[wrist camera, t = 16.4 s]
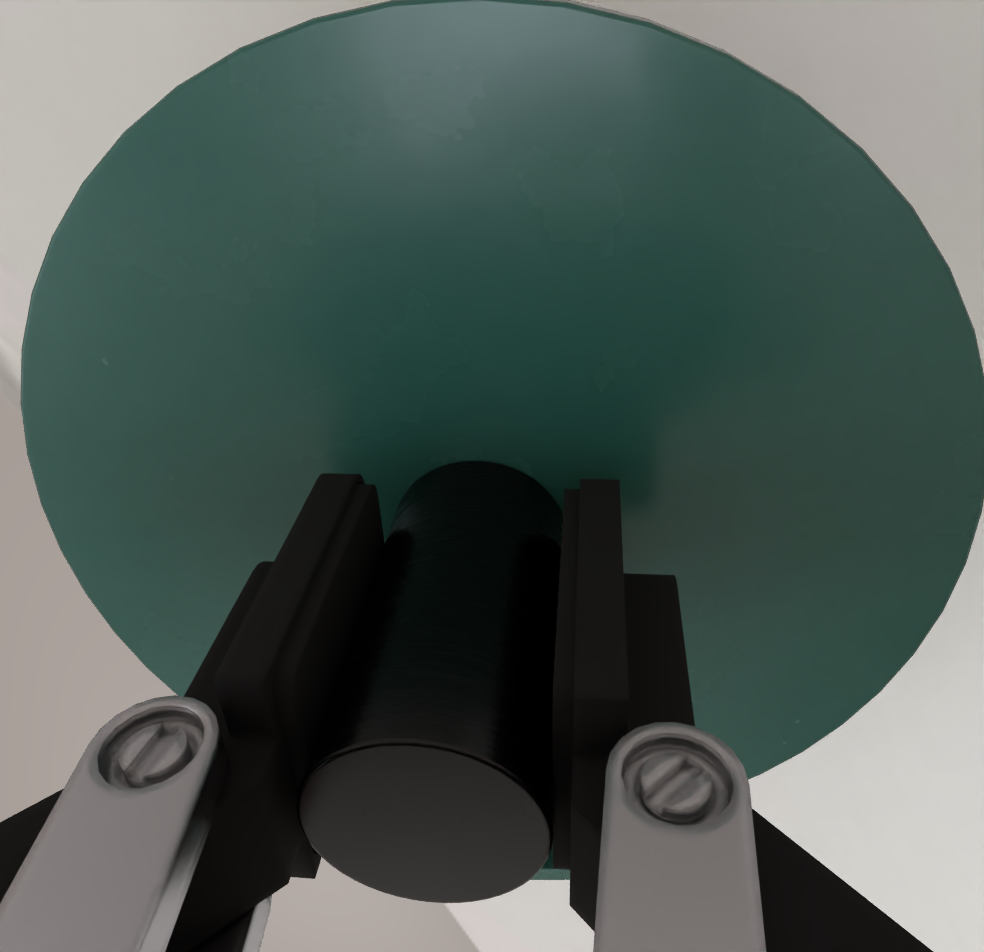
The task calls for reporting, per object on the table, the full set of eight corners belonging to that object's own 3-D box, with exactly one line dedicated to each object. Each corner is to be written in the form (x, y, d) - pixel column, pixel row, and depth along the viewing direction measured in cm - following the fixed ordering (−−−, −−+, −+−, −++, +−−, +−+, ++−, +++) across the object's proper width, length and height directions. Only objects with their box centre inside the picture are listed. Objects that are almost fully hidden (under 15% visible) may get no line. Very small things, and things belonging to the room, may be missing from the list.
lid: (1169, 454, 12) (1611, 847, 7) (546, 857, 19) (527, 1209, 13) (361, -337, 8) (-29, -811, 3) (-50, 516, 15) (-392, 818, 10)
